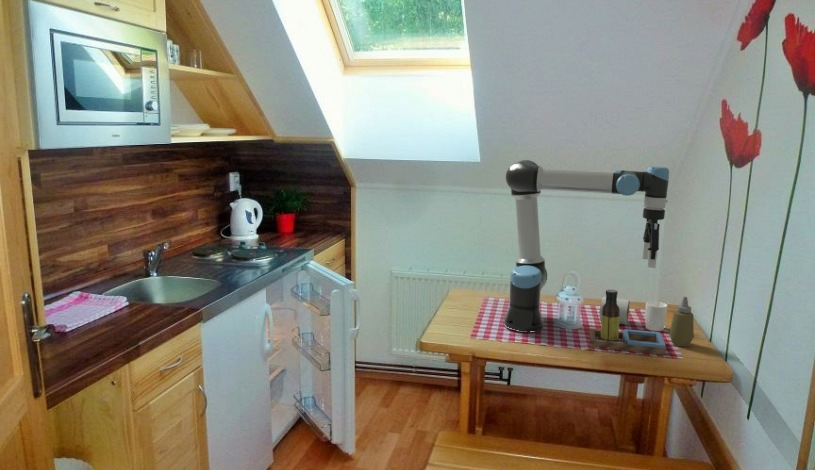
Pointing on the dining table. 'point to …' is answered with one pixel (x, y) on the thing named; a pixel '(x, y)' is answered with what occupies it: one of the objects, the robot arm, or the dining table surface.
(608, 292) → the sauce bottle
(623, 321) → the toilet paper
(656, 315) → the white cup
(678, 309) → the squeeze bottle
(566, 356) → the dining table surface
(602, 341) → the caddy
